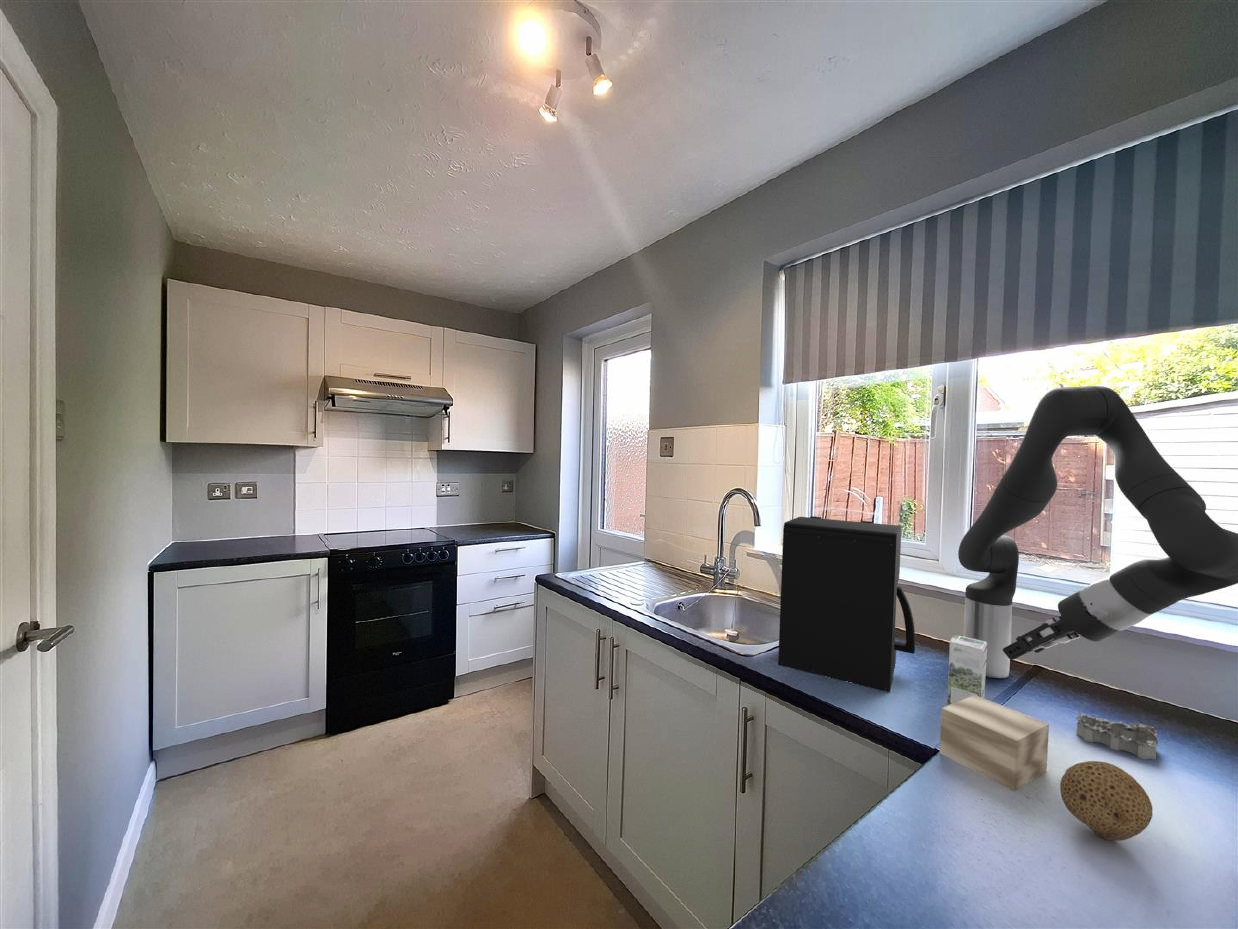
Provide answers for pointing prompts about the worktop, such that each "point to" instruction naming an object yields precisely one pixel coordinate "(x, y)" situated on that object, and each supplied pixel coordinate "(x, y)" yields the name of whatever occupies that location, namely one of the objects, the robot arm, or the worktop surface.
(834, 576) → the coffee maker
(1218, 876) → the worktop surface
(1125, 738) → the egg carton
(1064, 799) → the natural sponge
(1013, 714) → the wooden block
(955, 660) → the syrup box
